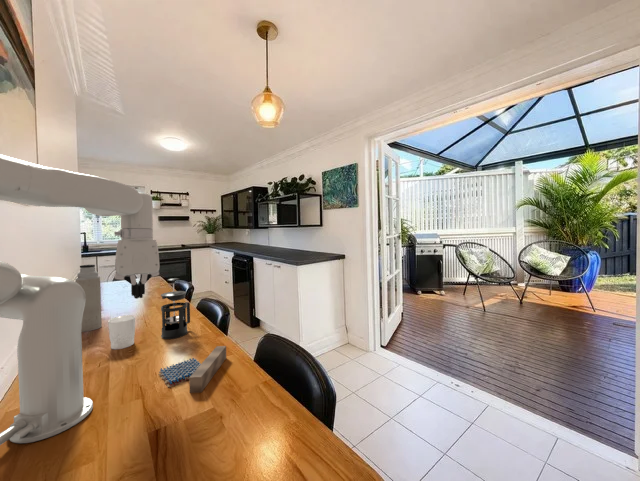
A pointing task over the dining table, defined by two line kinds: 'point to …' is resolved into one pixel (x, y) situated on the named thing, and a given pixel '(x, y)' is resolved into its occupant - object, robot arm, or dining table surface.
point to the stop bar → (207, 369)
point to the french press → (174, 324)
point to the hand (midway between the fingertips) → (138, 297)
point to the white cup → (121, 331)
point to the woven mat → (179, 372)
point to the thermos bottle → (90, 297)
